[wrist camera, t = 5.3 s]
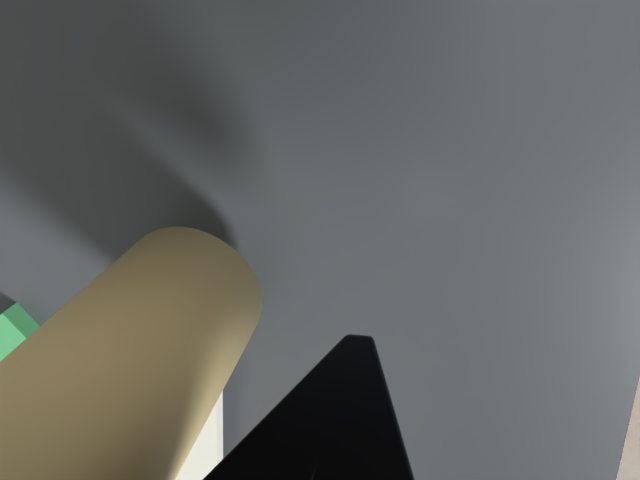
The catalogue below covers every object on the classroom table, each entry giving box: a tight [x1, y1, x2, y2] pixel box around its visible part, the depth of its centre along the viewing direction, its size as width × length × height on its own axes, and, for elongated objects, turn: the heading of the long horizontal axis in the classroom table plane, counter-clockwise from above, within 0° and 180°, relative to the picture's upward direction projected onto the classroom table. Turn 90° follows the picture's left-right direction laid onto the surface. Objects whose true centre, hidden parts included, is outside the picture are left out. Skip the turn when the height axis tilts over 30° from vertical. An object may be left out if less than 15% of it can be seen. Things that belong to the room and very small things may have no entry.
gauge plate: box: [0, 0, 640, 480], centre depth 14 cm, size 24×22×2 cm
